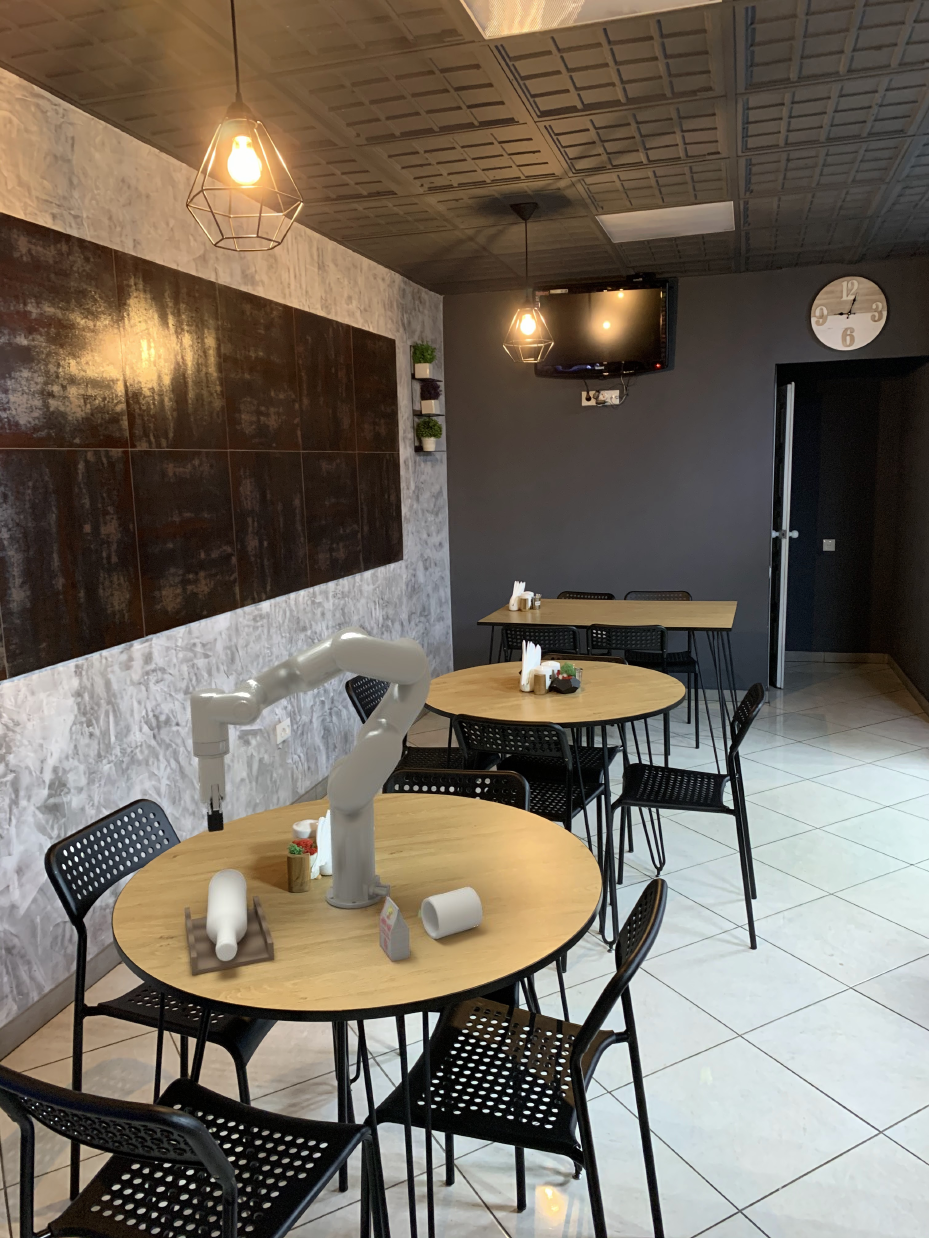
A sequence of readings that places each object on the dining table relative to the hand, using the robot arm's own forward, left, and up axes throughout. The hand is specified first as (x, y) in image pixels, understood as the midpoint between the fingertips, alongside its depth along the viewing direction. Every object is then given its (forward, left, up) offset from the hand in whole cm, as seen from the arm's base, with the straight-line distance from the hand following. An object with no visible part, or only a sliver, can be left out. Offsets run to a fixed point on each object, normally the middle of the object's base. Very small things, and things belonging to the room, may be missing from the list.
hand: (215, 829), depth 189 cm
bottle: (-2, 0, -12) cm, 13 cm away
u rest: (-12, +12, -17) cm, 24 cm away
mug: (-50, -10, -17) cm, 54 cm away
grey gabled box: (-45, +3, -17) cm, 48 cm away
